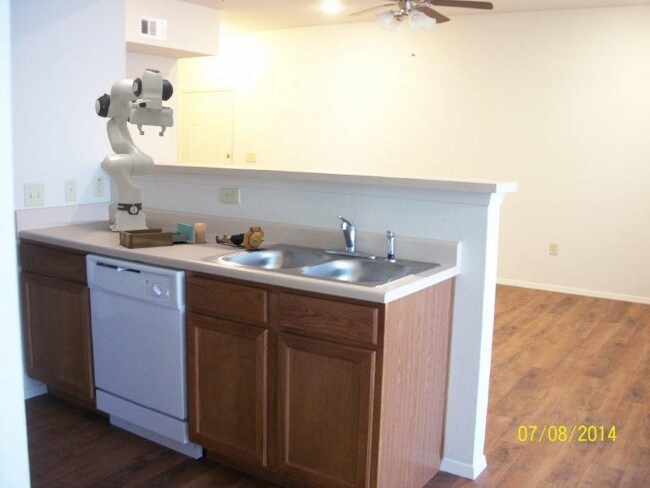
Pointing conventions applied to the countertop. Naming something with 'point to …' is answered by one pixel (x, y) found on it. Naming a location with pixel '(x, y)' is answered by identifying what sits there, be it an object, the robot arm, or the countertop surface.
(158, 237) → the brown wooden box
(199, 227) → the cylinder
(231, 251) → the countertop surface
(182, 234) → the teal tilted board
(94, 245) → the countertop surface
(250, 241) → the toy
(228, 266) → the countertop surface
